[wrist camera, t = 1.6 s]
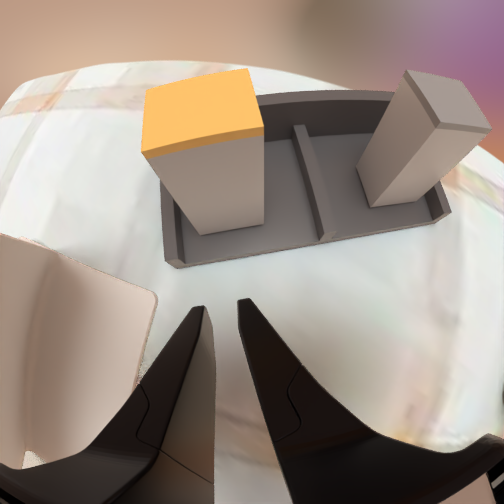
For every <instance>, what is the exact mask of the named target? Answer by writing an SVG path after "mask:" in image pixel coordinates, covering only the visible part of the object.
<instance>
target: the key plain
mask: <svg viewBox="0 0 504 504" xmlns="http://www.w3.org/2000/svg"><path fill="white" fill-rule="evenodd" d="M491 130H492V128H491V126H490V124H489V123H488V121H487V119H486V118H485V116H484V114H483V113H482V111H481V109H480V108H479V106H478V105H477V103H476V102H475V100H474V99H473V97H472V96H471V94H470V93H469V91H468V90H467V89H466V87H465V86H464V85H463V83H462V82H461V81H459V80H454V79H450V78H447V77H442V76H437V75H433V74H428V73H423V72H417V71H412V70H406V71H405V73H404V75H403V77H402V79H401V81H400V83H399V86H398V88H397V90H396V91H395V93H394V95H393V97H392V99H391V101H390V103H389V105H388V107H387V109H386V111H385V113H384V115H383V117H382V119H381V121H380V123H379V125H378V127H377V128H376V130H375V132H374V134H373V136H372V138H371V140H370V142H369V143H368V145H367V147H366V149H365V151H364V153H363V154H362V156H361V158H360V160H359V162H358V164H357V165H356V168H357V171H358V173H359V176H360V179H361V182H362V185H363V188H364V191H365V194H366V197H367V200H368V203H369V206H370V207H377V206H385V205H392V204H400V203H407V202H415V201H417V200H418V199H419V198H420V197H422V196H423V195H424V194H425V193H426V192H427V191H428V190H429V189H431V188H432V187H433V186H434V185H435V184H436V183H437V182H438V181H439V180H441V179H442V178H443V177H444V176H445V175H446V174H447V173H448V172H449V171H450V170H451V169H452V168H454V167H455V166H456V165H457V164H458V163H459V162H460V161H461V160H462V159H463V158H464V157H465V156H466V155H467V154H468V153H469V152H470V151H471V150H472V149H473V148H474V147H475V146H476V145H477V144H478V143H479V142H480V141H481V140H482V139H483V138H484V137H485V136H486V135H487V134H488V133H489V132H490V131H491Z"/></svg>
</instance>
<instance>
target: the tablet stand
mask: <svg viewBox="0 0 504 504" xmlns="http://www.w3.org/2000/svg"><path fill="white" fill-rule="evenodd" d="M157 305H158V298H157V296H156V294H155V293H154V292H152V291H149V290H146V289H144V288H141V287H138V286H136V285H133V284H131V283H128V282H125V281H123V280H120V279H118V278H115V277H113V276H111V275H108V274H106V273H103V272H101V271H98V270H96V269H94V268H91V267H89V266H87V265H84V264H82V263H80V262H78V261H75V260H73V259H71V258H69V257H66V256H64V255H62V254H60V253H58V252H55V251H53V250H51V249H49V248H47V247H45V246H43V245H40V244H38V243H36V242H34V241H32V240H30V239H27V238H25V237H19V238H18V239H17V238H14V237H11V236H8V235H5V234H2V233H0V463H3V464H4V465H6V466H8V467H10V468H12V469H22V466H23V461H24V456H25V452H26V451H32V452H34V453H36V454H37V455H38V456H39V457H40V458H41V459H43V460H44V461H45V462H46V463H49V462H53V461H56V460H59V459H62V458H65V457H68V456H71V455H74V454H77V453H79V452H80V451H82V450H83V449H85V448H86V447H87V446H88V445H89V444H90V443H91V442H92V441H93V440H94V439H95V438H96V437H97V435H98V434H99V433H100V432H101V431H102V430H103V428H104V427H105V426H106V425H107V424H108V423H109V421H110V420H111V419H112V418H113V417H114V416H115V414H116V413H117V412H118V411H119V409H120V408H121V407H122V406H123V405H124V403H125V402H126V400H127V399H128V398H129V396H130V395H131V394H132V392H133V391H134V389H135V386H136V382H137V378H138V374H139V370H140V366H141V362H142V358H143V354H144V350H145V346H146V343H147V339H148V335H149V332H150V328H151V325H152V321H153V318H154V314H155V311H156V308H157Z"/></svg>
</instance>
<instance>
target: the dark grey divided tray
mask: <svg viewBox="0 0 504 504" xmlns="http://www.w3.org/2000/svg"><path fill="white" fill-rule="evenodd" d="M394 93H395V92H386V91H366V90H319V91H299V92H286V93H275V94H266V95H257V96H256V99H257V103H258V106H259V110H260V114H261V118H262V121H263V125H264V224H261V225H255V226H249V227H244V228H238V229H232V230H227V231H221V232H216V233H210V234H205V235H200V234H199V233H198V232H197V230H196V229H195V228H194V226H193V225H192V223H191V222H190V221H189V219H188V218H187V217H186V215H185V214H184V212H183V211H182V210H181V208H180V207H179V205H178V204H177V203H176V201H175V200H174V198H173V197H172V196H171V194H170V193H169V191H168V190H167V189H166V187H165V186H164V184H163V183H162V181H161V180H160V192H161V215H162V231H163V245H164V257H165V261H166V262H167V263H169V264H170V265H172V266H174V267H175V268H177V269H178V268H184V267H190V266H196V265H202V264H207V263H213V262H219V261H225V260H231V259H236V258H242V257H248V256H254V255H259V254H265V253H271V252H277V251H282V250H288V249H294V248H300V247H305V246H311V245H317V244H322V243H328V242H334V241H339V240H345V239H351V238H356V237H362V236H367V235H373V234H379V233H384V232H390V231H395V230H401V229H407V228H412V227H418V226H423V225H429V224H434V223H436V222H438V221H439V220H441V219H442V218H444V217H445V216H447V215H449V214H450V213H452V212H451V209H450V206H449V203H448V201H447V198H446V195H445V193H444V190H443V187H442V185H441V182H440V180H439V181H438V182H437V183H436V184H435V185H434V186H433V187H432V188H431V189H429V190H428V191H427V192H426V193H425V194H424V195H423V196H422V197H420V198H419V199H418V200H417V201H415V202H407V203H400V204H392V205H385V206H377V207H370V206H369V203H368V200H367V197H366V194H365V191H364V188H363V185H362V182H361V179H360V176H359V173H358V171H357V168H356V165H357V164H358V162H359V160H360V158H361V156H362V154H363V153H364V151H365V149H366V147H367V145H368V143H369V142H370V140H371V138H372V136H373V134H374V132H375V130H376V128H377V127H378V125H379V123H380V121H381V119H382V117H383V115H384V113H385V111H386V109H387V107H388V105H389V103H390V101H391V99H392V97H393V95H394Z"/></svg>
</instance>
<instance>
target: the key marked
mask: <svg viewBox="0 0 504 504" xmlns="http://www.w3.org/2000/svg"><path fill="white" fill-rule="evenodd" d="M141 152H142V154H143V155H144V157H145V158H146V160H147V161H148V163H149V164H150V166H151V167H152V168H153V170H154V171H155V173H156V174H157V176H158V177H159V179H160V180H161V181H162V183H163V184H164V186H165V187H166V189H167V190H168V191H169V193H170V194H171V196H172V197H173V198H174V200H175V201H176V203H177V204H178V205H179V207H180V208H181V210H182V211H183V212H184V214H185V215H186V217H187V218H188V219H189V221H190V222H191V223H192V225H193V226H194V228H195V229H196V230H197V232H198V233H199V234H200V235H205V234H210V233H216V232H221V231H227V230H232V229H238V228H244V227H249V226H255V225H261V224H264V125H263V121H262V118H261V114H260V110H259V106H258V103H257V99H256V96H255V92H254V88H253V85H252V81H251V78H250V74H249V71H248V68H246V69H238V70H232V71H225V72H219V73H214V74H209V75H203V76H199V77H194V78H189V79H185V80H181V81H177V82H173V83H169V84H165V85H162V86H158V87H155V88H151V89H148V90H146V96H145V106H144V116H143V129H142V145H141Z"/></svg>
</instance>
